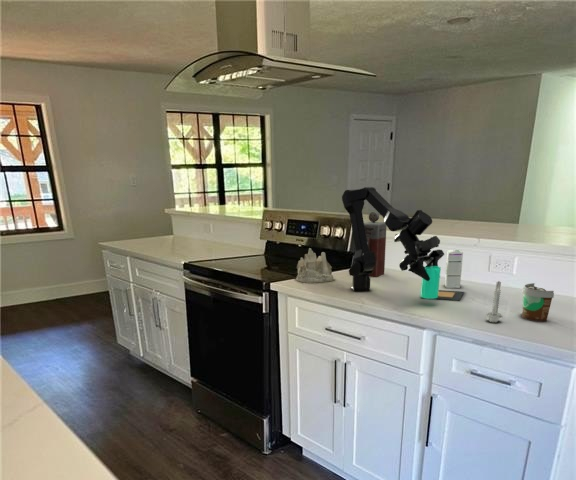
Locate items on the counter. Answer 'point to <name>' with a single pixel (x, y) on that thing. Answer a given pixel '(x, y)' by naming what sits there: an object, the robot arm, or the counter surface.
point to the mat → (449, 295)
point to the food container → (536, 302)
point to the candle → (431, 283)
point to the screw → (495, 305)
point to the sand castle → (314, 268)
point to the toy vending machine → (376, 242)
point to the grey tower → (453, 268)
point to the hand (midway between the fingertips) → (434, 279)
